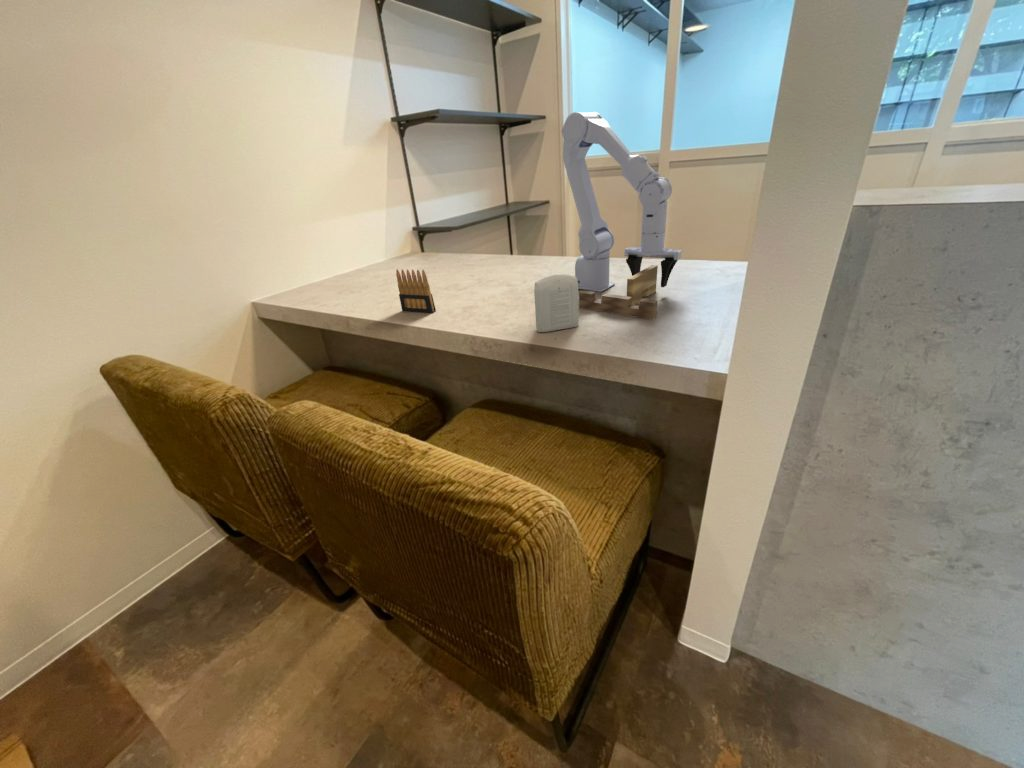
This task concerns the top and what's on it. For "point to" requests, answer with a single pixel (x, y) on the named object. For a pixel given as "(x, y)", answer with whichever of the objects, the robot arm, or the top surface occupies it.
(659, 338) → the top surface
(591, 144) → the robot arm
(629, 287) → the crossbar
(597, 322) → the top surface
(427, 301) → the ammunition clip
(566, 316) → the miniature gravestone
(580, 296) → the slotted beam
